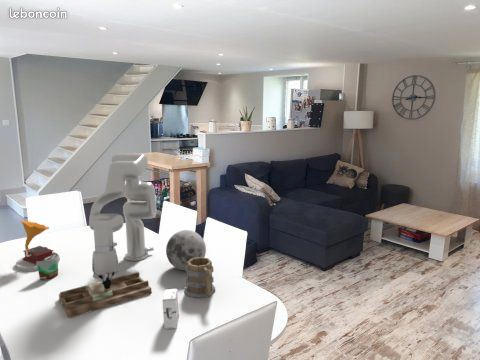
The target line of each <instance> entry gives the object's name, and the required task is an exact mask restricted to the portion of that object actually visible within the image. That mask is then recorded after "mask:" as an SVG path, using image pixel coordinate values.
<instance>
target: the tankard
mask: <svg viewBox="0 0 480 360" xmlns="http://www.w3.org/2000/svg"><path fill="white" fill-rule="evenodd" d="M213 272H214V266H213V262H212V261H211V259H210V258H208V257H201V258H200V257H197V258H192V259H190V260H189V261H188V262H187V267H186V270H185V273H186V275H187V276H186V278H185V282H186V284H187V285H186V286H185V287H184V292H185V294H186V295H187V296H188V297H190V296H192V297H191V298H195V297H196V298H197V299H202V298H207V297H210V296H212V294H213V293H215V291H216V287H215V285H214V284H213V283H214V276H213ZM206 296H207V297H206ZM201 297H202V298H201Z"/></svg>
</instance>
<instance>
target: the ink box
mask: <svg viewBox="0 0 480 360" xmlns="http://www.w3.org/2000/svg"><path fill="white" fill-rule="evenodd" d="M162 311H163V325H164V326H163V328H164V329H165V330H169V329H177V328H178V324H179V318H180V312H179V294H178V289H177V288H169V289H168V288H167V289H164V293H163V297H162Z"/></svg>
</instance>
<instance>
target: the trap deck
mask: <svg viewBox="0 0 480 360" xmlns="http://www.w3.org/2000/svg"><path fill="white" fill-rule="evenodd" d="M100 282H101V283H102V284H103V280H102V281H100ZM152 293H153V292H152V287H151V286H150V285H149V280H144V279H143V278H142V277H141V276H140V272H139V271H136V272H131V273H128V274H125V275H122V276H117V277H112V279H111V285H110V289H109V288H108V289H106V288H105V287H104V293H100V294H97V295H93V296H91V295H90V294H89V290H88V284H86V285H83V286H79V287H74V288H71V289H67V290H63V291H60V292H59V294H58V299H59V301H60V303H61V306H62V308H63V310H64V311H65V314H66V316H67V318H68V319H71V318H74V317H77V316H80V315H83V314H88V313H90V312H93V311H97V310H100V309H103V308H107V307H110V306H113V305H117V304H120V303H122V302H124V303H125V302H126V301H129V300H133V299H137V298H139V297H144V296H146V295H149V294H152Z"/></svg>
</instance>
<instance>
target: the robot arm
mask: <svg viewBox="0 0 480 360" xmlns="http://www.w3.org/2000/svg"><path fill="white" fill-rule="evenodd" d="M148 163H149V162H148V157H147V156H146V154H143V153H115V154H113V155H112V157H111V163H110V164H109V167H108V173H107V178H106V185H105V188H104V190H103V191H104V192H102V194H100V195H99V196H98V197H97V198H96V200H94V201H93V203H92V205H91V208H90V212H89V213H90V214H89V218H88V219H89V220H88V224H89V225H88V226H89V228H90V229H91V230H92V231H93V237H94V251H92V261H91V266H92V267H91V268H92V270H91V271H92V273H93V274H92V278H93V279H101V280H102V281H103V285H104V287H105V288H106V289H108V288H109V289H110V285H111V279H113V277H114V275H115V274H118V273H119V272H120V270H119V258H118V254H117V250H116V248H115V247H116V246H118V242H114V233H116V232H118V231H120V230H121V229H122V228H123V227H124V223H125V234H126V235H125V237H126V253H125V254H124V259H125V260H127V261H130V262H132V261H134V262H137V261H142V260H145V259H146V258H148V256H149V252H152V251H154V247H152V246H151V247H150V246H147V247H146V244H145V243H146V242H145V226H144V222H143V221H142V220H141V219H143V220H144V219H153V218H155V217H156V216H157V210H158V209H157V197H156V189H155V186H154V184H153V183H152V182H151V181H141V180H140V178H141V176H142V175H143V174H144V173H145V171H146V169H147V167H148ZM122 197H125V199H127V200H129V201H126V202H125V203H124V204H123V206H122V213H123V216H122V215H121V214H118V213H101V210H102V209H103V208H104V206H106V205H107V204H109V203H110V202H113V201H115V200H117V199H120V198H122Z"/></svg>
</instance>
